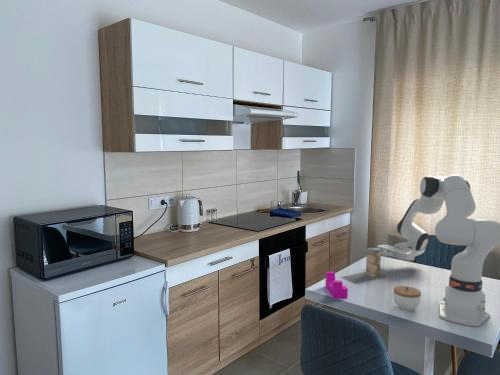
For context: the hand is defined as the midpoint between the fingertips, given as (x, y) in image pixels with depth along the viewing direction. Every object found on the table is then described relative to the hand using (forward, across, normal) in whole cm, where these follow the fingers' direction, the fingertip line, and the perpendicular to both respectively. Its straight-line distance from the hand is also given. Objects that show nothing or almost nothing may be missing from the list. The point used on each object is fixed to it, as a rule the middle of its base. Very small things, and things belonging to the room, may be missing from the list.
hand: (384, 253), depth 204 cm
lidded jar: (+27, +36, +11) cm, 46 cm away
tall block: (+8, 0, +10) cm, 13 cm away
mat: (+15, 0, +11) cm, 18 cm away
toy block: (+41, +8, +11) cm, 43 cm away
